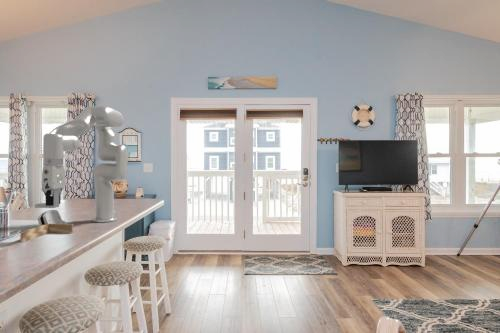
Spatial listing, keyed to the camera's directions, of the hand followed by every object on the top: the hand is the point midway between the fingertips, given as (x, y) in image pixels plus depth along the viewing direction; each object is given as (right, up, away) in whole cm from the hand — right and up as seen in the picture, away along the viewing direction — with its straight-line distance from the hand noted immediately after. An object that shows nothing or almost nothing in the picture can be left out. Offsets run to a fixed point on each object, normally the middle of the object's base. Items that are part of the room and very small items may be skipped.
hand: (53, 204), depth 144 cm
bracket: (-3, -1, 0) cm, 3 cm away
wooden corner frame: (-4, -15, +3) cm, 15 cm away
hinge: (-13, -14, +20) cm, 28 cm away
